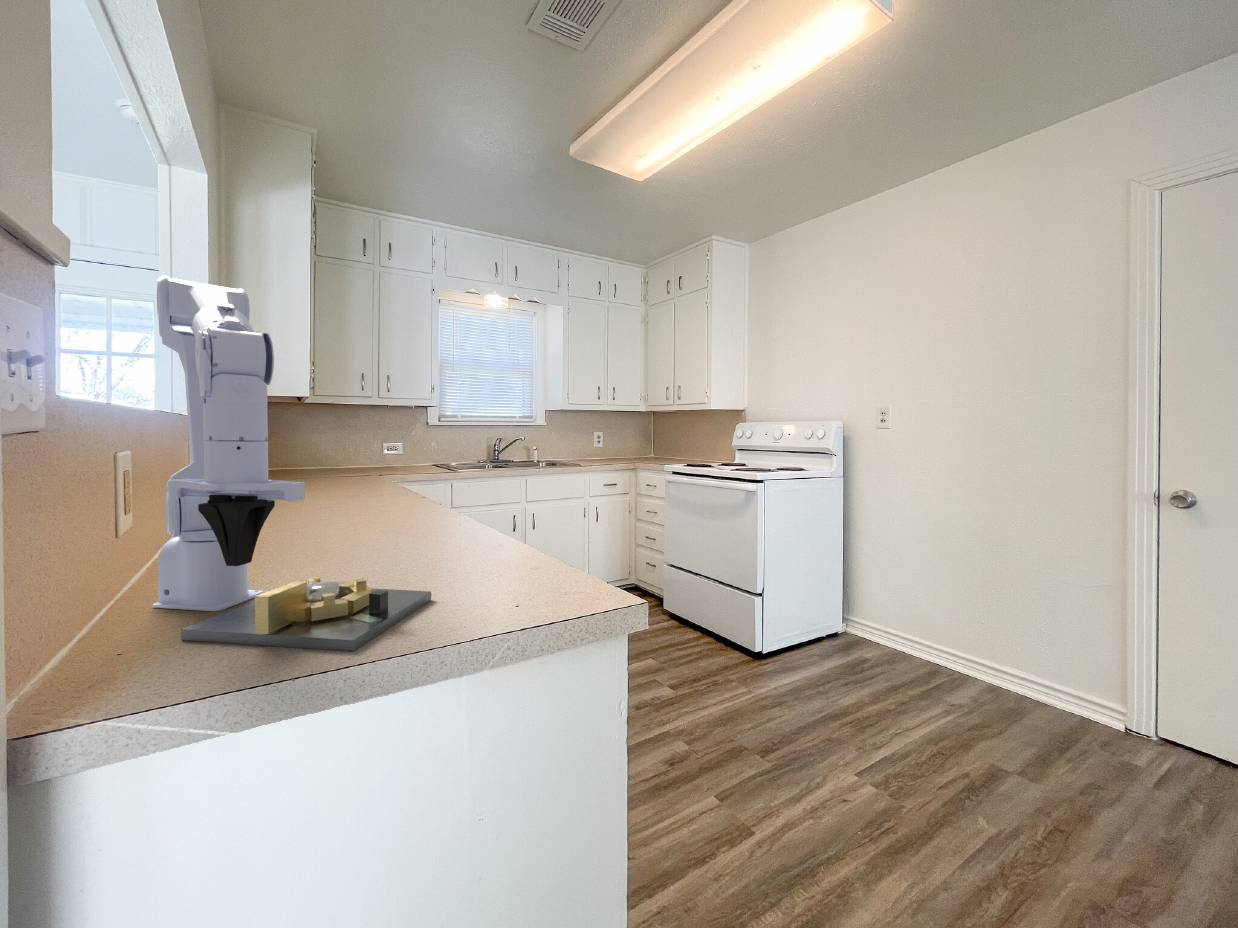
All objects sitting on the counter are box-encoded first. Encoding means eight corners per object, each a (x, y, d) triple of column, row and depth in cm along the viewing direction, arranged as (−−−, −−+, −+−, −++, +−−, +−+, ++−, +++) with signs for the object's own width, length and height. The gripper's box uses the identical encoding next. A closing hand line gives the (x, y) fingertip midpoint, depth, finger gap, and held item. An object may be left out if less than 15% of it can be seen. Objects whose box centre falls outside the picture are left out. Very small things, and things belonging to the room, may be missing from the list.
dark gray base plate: (181, 639, 59) (180, 604, 58) (297, 592, 76) (296, 565, 76) (353, 651, 56) (353, 613, 56) (431, 599, 74) (431, 571, 74)
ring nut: (309, 590, 72) (309, 561, 72) (386, 594, 71) (386, 565, 71) (214, 630, 58) (214, 593, 57) (310, 636, 56) (309, 599, 56)
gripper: (140, 440, 55) (144, 569, 56) (270, 442, 54) (272, 575, 54) (201, 439, 62) (203, 555, 63) (317, 442, 61) (318, 560, 61)
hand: (238, 563), depth 59 cm, fingers closed
